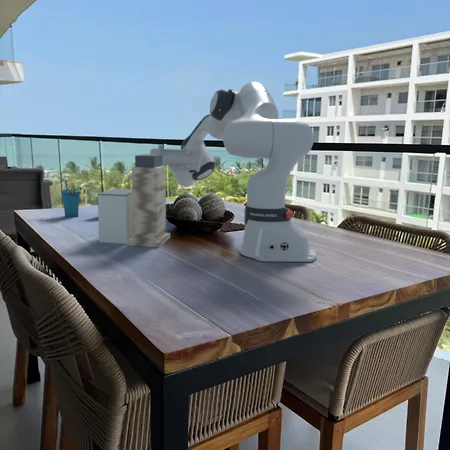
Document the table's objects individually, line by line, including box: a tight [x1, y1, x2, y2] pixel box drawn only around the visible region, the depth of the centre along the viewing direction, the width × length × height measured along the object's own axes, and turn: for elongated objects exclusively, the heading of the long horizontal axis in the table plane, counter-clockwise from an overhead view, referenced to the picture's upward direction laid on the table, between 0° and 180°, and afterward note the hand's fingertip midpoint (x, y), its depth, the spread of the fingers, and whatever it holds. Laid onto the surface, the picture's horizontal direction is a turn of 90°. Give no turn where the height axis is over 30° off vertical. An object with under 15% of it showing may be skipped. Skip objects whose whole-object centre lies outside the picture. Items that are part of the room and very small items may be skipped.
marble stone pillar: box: [126, 165, 171, 248], centre depth 144 cm, size 10×14×24 cm
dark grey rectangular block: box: [134, 153, 164, 168], centre depth 145 cm, size 6×18×4 cm, turn 172°
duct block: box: [97, 188, 133, 245], centre depth 148 cm, size 9×14×16 cm, turn 172°
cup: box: [60, 178, 81, 218], centre depth 184 cm, size 14×8×15 cm, turn 45°
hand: (172, 147), depth 169 cm, fingers open, 8 cm apart
